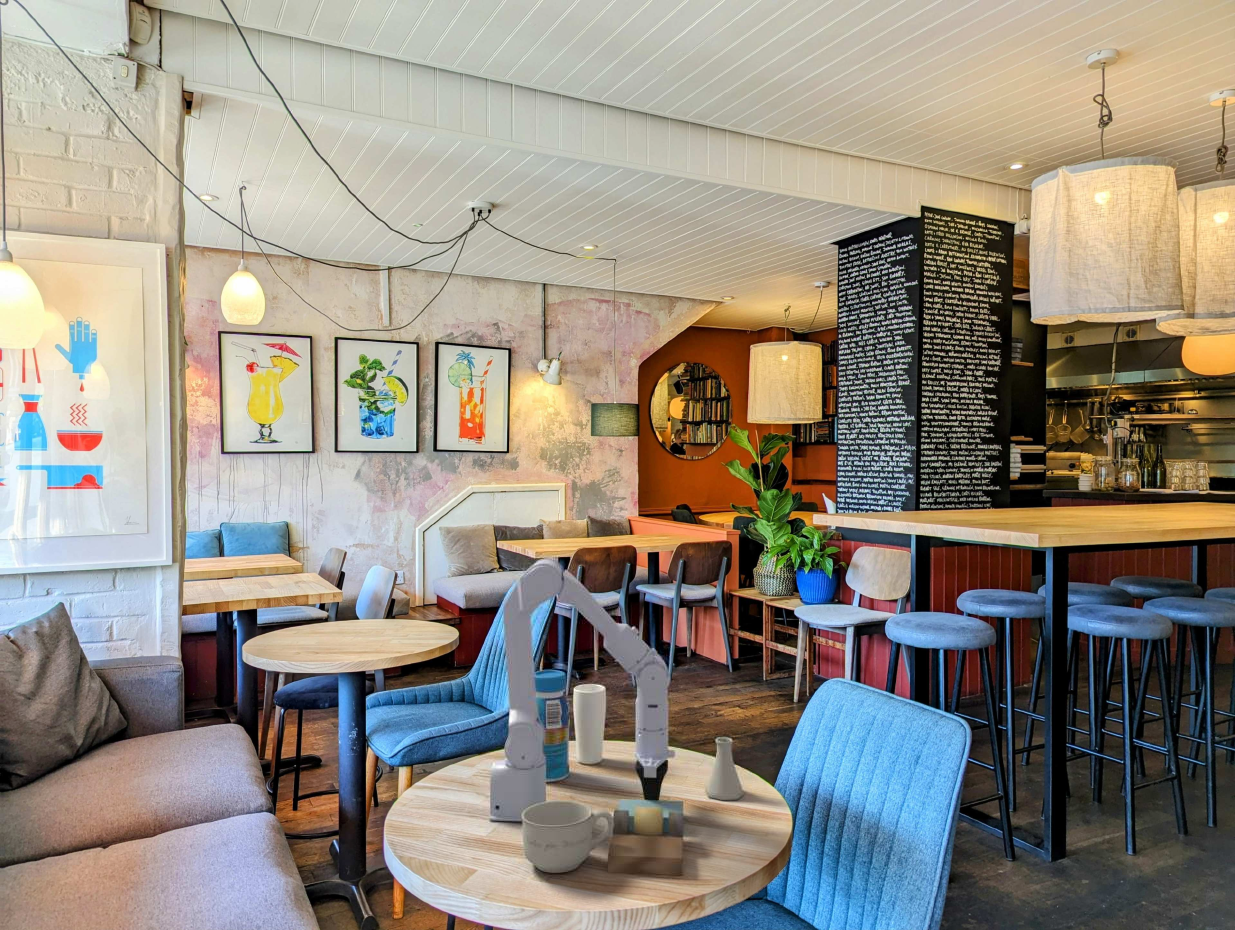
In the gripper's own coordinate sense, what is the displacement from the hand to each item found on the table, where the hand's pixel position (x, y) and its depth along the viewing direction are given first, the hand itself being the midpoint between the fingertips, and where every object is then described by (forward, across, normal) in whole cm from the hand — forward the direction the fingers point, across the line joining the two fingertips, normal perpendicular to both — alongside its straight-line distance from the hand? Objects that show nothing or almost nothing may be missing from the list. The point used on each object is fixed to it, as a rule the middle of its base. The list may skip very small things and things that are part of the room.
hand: (651, 804), depth 142 cm
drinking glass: (+2, +25, +14) cm, 28 cm away
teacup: (+2, -20, +12) cm, 23 cm away
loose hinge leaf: (+1, -7, 0) cm, 7 cm away
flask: (+2, +10, -13) cm, 16 cm away
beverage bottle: (+2, +16, +21) cm, 26 cm away
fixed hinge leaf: (+1, -16, 0) cm, 16 cm away
